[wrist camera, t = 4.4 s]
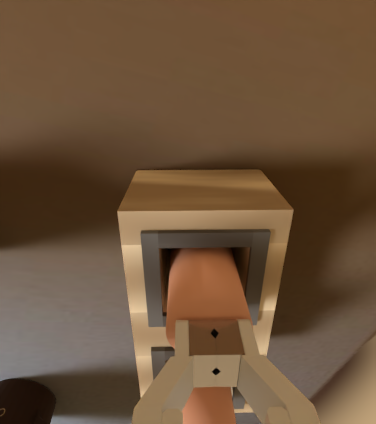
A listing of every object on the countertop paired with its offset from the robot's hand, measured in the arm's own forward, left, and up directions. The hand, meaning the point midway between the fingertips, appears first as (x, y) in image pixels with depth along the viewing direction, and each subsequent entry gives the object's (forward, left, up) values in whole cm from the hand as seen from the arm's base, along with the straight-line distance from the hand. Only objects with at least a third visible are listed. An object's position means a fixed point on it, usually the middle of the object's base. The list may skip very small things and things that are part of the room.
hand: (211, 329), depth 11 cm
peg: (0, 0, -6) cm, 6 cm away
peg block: (-4, 0, -9) cm, 10 cm away
